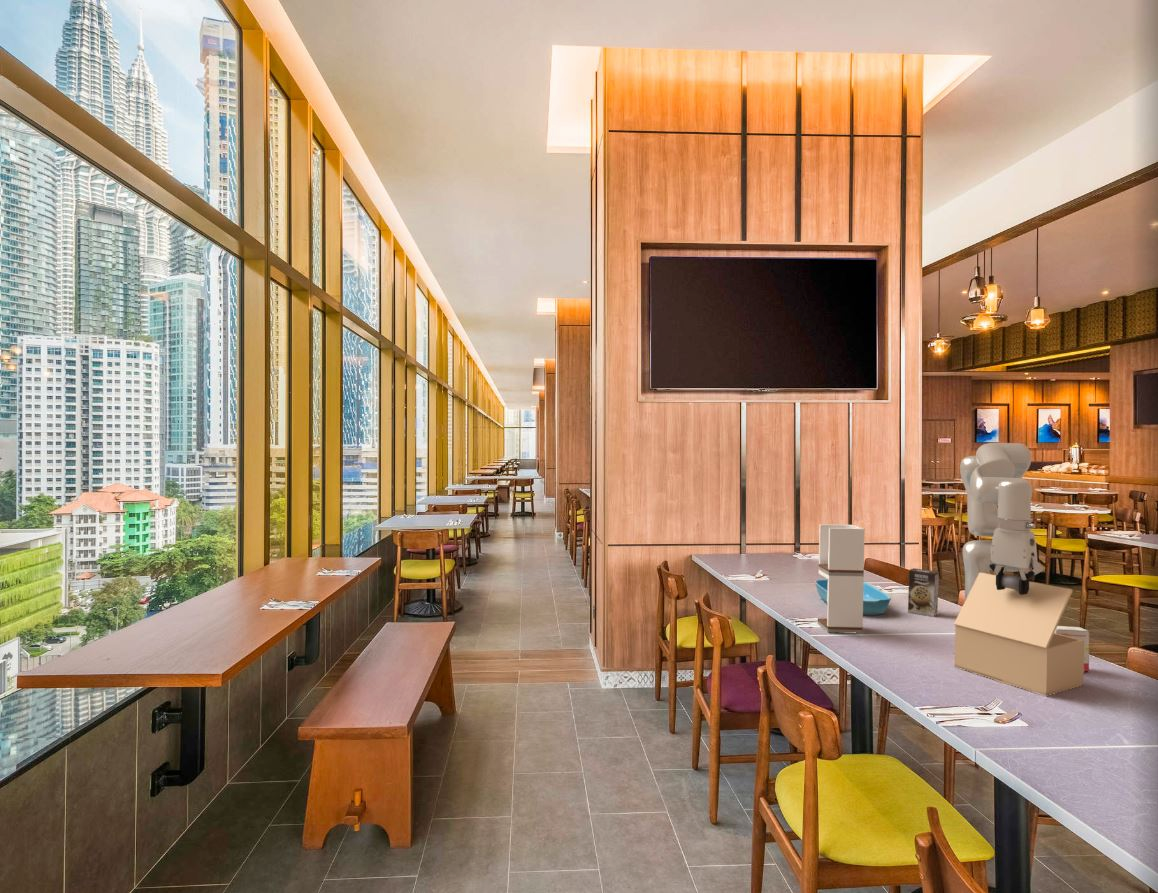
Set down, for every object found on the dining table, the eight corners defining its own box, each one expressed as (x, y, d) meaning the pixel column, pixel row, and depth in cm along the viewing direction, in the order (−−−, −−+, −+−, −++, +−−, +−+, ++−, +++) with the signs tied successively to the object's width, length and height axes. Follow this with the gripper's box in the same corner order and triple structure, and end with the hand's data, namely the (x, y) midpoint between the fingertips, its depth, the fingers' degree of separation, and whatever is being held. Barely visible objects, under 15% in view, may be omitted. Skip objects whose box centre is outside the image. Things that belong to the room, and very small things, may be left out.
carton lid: (980, 574, 196) (971, 562, 194) (1072, 591, 175) (1064, 578, 172) (955, 625, 190) (945, 613, 188) (1046, 649, 169) (1037, 636, 167)
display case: (850, 624, 234) (852, 524, 233) (862, 633, 223) (864, 528, 223) (817, 624, 234) (819, 524, 234) (827, 632, 223) (830, 528, 223)
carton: (991, 658, 199) (992, 618, 199) (1083, 685, 178) (1084, 640, 178) (954, 667, 191) (955, 625, 190) (1045, 696, 169) (1047, 649, 169)
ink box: (1079, 667, 193) (1080, 626, 192) (1089, 673, 188) (1090, 631, 188) (1046, 664, 194) (1047, 624, 194) (1055, 670, 189) (1056, 629, 189)
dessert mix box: (907, 612, 252) (908, 569, 251) (912, 609, 256) (912, 567, 256) (933, 617, 246) (934, 573, 245) (938, 613, 250) (939, 571, 250)
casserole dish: (899, 619, 243) (900, 599, 243) (837, 617, 244) (837, 598, 244) (862, 595, 280) (862, 578, 279) (808, 594, 281) (808, 577, 281)
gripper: (1055, 528, 176) (1053, 597, 177) (989, 520, 191) (988, 583, 192) (1040, 530, 173) (1038, 600, 173) (974, 522, 188) (972, 586, 188)
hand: (1011, 591), depth 182 cm, fingers closed on carton lid, 5 cm apart
